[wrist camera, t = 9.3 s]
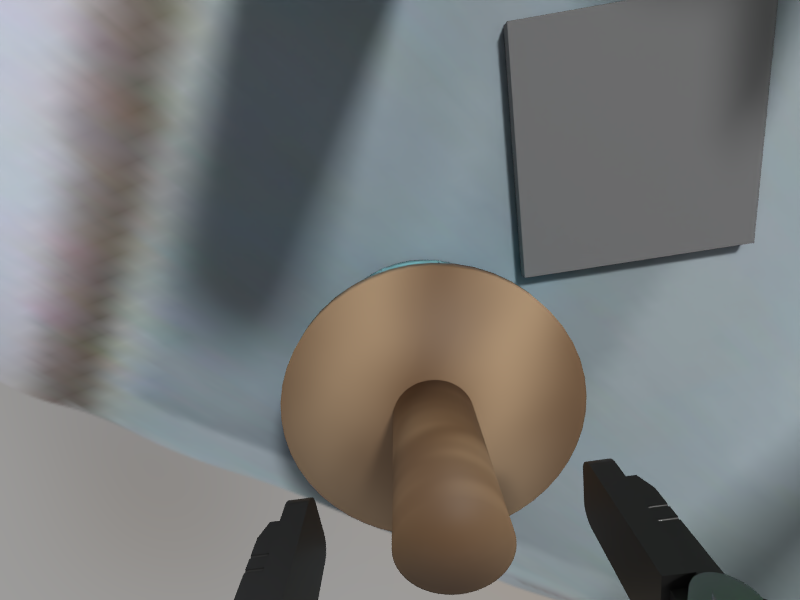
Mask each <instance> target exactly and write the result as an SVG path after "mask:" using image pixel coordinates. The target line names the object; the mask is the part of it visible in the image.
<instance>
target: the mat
mask: <svg viewBox="0 0 800 600" xmlns="http://www.w3.org/2000/svg"><path fill="white" fill-rule="evenodd" d="M777 4H778V0H626V1H620V2H614V3H609V4H603V5H597V6H592V7H586V8H580V9H575V10H569V11H563V12H558V13H552V14H546V15H541V16H535V17H529V18H524V19H518V20H512V21H507V22H506V24H505V25H504V40H505V54H506V68H507V82H508V96H509V110H510V124H511V137H512V151H513V165H514V179H515V193H516V207H517V221H518V235H519V249H520V263H521V275H522V276H523V277H524V278H527V277H534V276H540V275H547V274H553V273H560V272H566V271H573V270H579V269H586V268H592V267H599V266H606V265H612V264H619V263H625V262H632V261H638V260H645V259H651V258H658V257H664V256H671V255H677V254H684V253H690V252H697V251H703V250H710V249H716V248H723V247H729V246H736V245H742V244H749V243H754V238H755V227H756V217H757V207H758V197H759V187H760V177H761V166H762V156H763V146H764V136H765V126H766V116H767V105H768V95H769V85H770V75H771V65H772V55H773V44H774V34H775V24H776V14H777Z"/></svg>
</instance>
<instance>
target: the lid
mask: <svg viewBox="0 0 800 600" xmlns="http://www.w3.org/2000/svg"><path fill="white" fill-rule="evenodd" d="M585 412H586V385H585V376H584V373H583V369H582V365H581V361H580V358H579V356H578V353H577V351H576V349H575V346H574V344H573V342H572V340H571V339H570V337H569V336H568V334H567V332H566V331H565V329H564V328H563V326H562V325H561V324H560V323H559V322H558V320H557V319H556V318H555V317H554V316H553V315H552V313H551V312H550V311H549V310H548V309H547V308H545V307H544V306H543V305H542V304H541V303H540V302H539V301H538V300H536V299H535V298H534V297H533V296H532V295H531V294H529V293H528V292H527V291H525V290H524V289H522V288H521V287H519V286H518V285H516V284H514V283H513V282H511V281H509V280H507V279H505V278H503V277H500V276H498V275H496V274H494V273H491V272H488V271H485V270H481V269H478V268H475V267H470V266H464V265H458V264H451V263H424V264H413V265H407V266H402V267H398V268H393V269H389V270H386V271H384V272H381V273H378V274H375V275H373V276H370V277H368V278H366V279H364V280H362V281H360V282H358V283H356V284H355V285H353V286H351V287H350V288H348V289H347V290H345V291H344V292H342V293H341V294H340V295H338V296H337V297H335V298H334V299H333V300H332V301H331V302H330V303H329V304H328V305H327V306H326V307H324V308H323V309H322V310H321V311H320V312H319V314H318V315H317V316H316V317H315V319H314V320H313V321H312V322H311V323H310V325H309V326H308V328H307V329H306V331H305V333H304V334H303V336H302V338H301V339H300V341H299V343H298V344H297V346H296V348H295V350H294V352H293V354H292V357H291V359H290V361H289V364H288V366H287V369H286V373H285V377H284V381H283V385H282V395H281V418H282V425H283V430H284V435H285V439H286V441H287V444H288V447H289V450H290V453H291V455H292V457H293V458H294V460H295V462H296V464H297V466H298V468H299V469H300V471H301V472H302V474H303V475H304V476H305V478H306V479H307V481H308V482H309V483H310V484H311V485H312V486H313V487H314V488H315V490H316V491H317V492H318V493H319V494H320V495H321V496H323V497H324V498H325V499H326V500H327V501H329V502H330V503H331V504H332V505H333V506H335V507H336V508H338V509H340V510H341V511H343V512H344V513H346V514H347V515H349V516H351V517H353V518H355V519H357V520H359V521H361V522H363V523H366V524H369V525H372V526H374V527H377V528H380V529H384V530H388V531H392V556H393V559H394V563H395V565H396V567H397V569H398V570H399V571H400V573H401V574H402V575H403V576H404V577H405V578H406V579H407V580H408V581H409V582H411V583H412V584H414V585H415V586H417V587H419V588H421V589H424V590H426V591H429V592H433V593H438V594H449V595H454V594H464V593H469V592H473V591H477V590H479V589H482V588H484V587H486V586H488V585H490V584H491V583H493V582H494V581H496V580H497V579H498V578H500V577H501V576H502V575H503V574H504V573H505V572H506V570H507V569H508V568H509V566H510V565H511V563H512V561H513V559H514V556H515V552H516V535H515V532H514V529H513V526H512V523H511V520H510V517H509V516H510V515H512V514H513V513H515V512H517V511H519V510H520V509H522V508H523V507H525V506H526V505H528V504H529V503H530V502H532V501H533V500H534V499H536V498H537V497H538V496H539V495H540V494H541V493H542V492H544V491H545V490H546V489H547V488H548V487H549V486H550V484H551V483H552V482H553V481H554V480H555V479H556V478H557V477H558V476H559V474H560V473H561V471H562V470H563V468H564V467H565V465H566V464H567V463H568V461H569V459H570V457H571V455H572V453H573V451H574V449H575V447H576V445H577V442H578V440H579V437H580V434H581V431H582V428H583V422H584V417H585Z"/></svg>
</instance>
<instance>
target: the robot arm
mask: <svg viewBox="0 0 800 600" xmlns="http://www.w3.org/2000/svg"><path fill="white" fill-rule="evenodd" d="M583 480H584V505H585V511H586V515H587V518H588V521H589V524H590V526H591V528H592V530H593V532H594V534H595V536H596V537H597V539H598V541H599V543H600V545H601V547H602V549H603V550H604V552H605V554H606V556H607V558H608V560H609V562H610V563H611V565H612V567H613V569H614V571H615V573H616V575H617V576H618V578H619V580H620V582H621V584H622V586H623V587H624V589H625V591H626V593H627V595H628V597H629V599H630V600H766V599H763V598H762V597H761V596H760V595H759V594H758V593H757V592H756V591H754V590H753V589H752V588H751V587H749V586H748V585H746V584H745V583H743V582H742V581H740V580H738V579H736V578H733V577H731V576H729V575H725V574H724V573H723V572H722V571H721V569H720V568H719V567H718V566H717V564H716V563H715V562H714V561H713V559H712V558H711V557H710V556H709V555H708V553H707V552H706V551H705V550H704V548H703V547H702V546H701V545H700V543H699V542H698V541H697V540H696V538H695V537H694V536H693V535H692V533H691V532H690V531H689V530H688V528H687V527H686V526H685V525H684V523H683V522H682V521H681V520H679V519H678V516H677V515H676V514H675V512H674V511H673V510H672V509H671V507H670V506H669V507H668V505H667V502H666V501H665V500H664V499H663V497H662V496H661V495H660V494H659V492H658V491H657V490H656V489H655V488H654V487H653V486H652V485H650V484H649V483H647V482H646V481H644V480H643V479H641V478H640V477H638V476H637V475H633V476H625V475H624V473H623V472H622V471H621V469H620V468H619V467H618V465H617V464H616V463H615V461H614V460H612V459H603V460H596V461H588V462H584V464H583ZM325 558H326V542H325V536H324V532H323V528H322V525H321V521H320V517H319V514H318V510H317V506H316V503H315V500H314V498H304V499H298V500H289V501H287V502H286V504H285V507H284V510H283V513H282V516H281V519H280V521H275V522H270V523H269V524H268V525H267V527H266V528H265V529H264V531H263V532H262V533H261V534H260V536H259V537H258V538H257V541H256V544H255V546H254V549H253V551H252V554H251V559H249V562H248V564H247V567H246V569H245V570H246V572H245V573H244V575H243V578H242V580H241V583H240V585H239V588H238V590H237V593H236V596H235V599H234V600H318V597H319V591H320V586H321V580H322V575H323V570H324V565H325Z"/></svg>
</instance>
